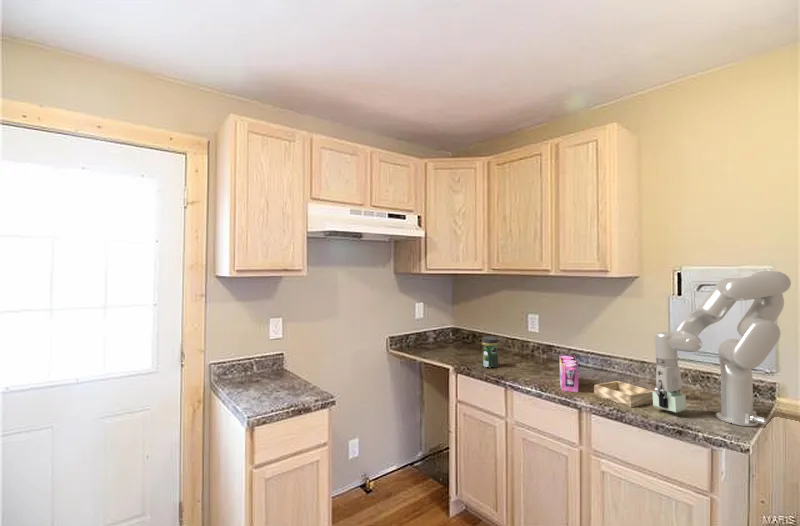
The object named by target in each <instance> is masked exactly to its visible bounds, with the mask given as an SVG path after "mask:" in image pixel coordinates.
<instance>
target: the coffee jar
mask: <svg viewBox="0 0 800 526" xmlns="http://www.w3.org/2000/svg"><path fill="white" fill-rule="evenodd" d="M481 345H482V357H481V359H482V360H481V363H482V364H481V367H483V366H484V367H483V368H485V367H495V368H499V356H498V355H499V354H498V346H499V339H498V337H497V336H492V335H491V336H490V335H489V336H483V337H482V338H481Z"/></svg>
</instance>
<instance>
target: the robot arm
mask: <svg viewBox="0 0 800 526" xmlns="http://www.w3.org/2000/svg"><path fill="white" fill-rule="evenodd" d="M791 284H792V282H791V279H790V277H789V275H787V274H785V273H783V272H780V271H776V270H775V271H773V270H771V271H770V270H766V271H764V270H763V271H757V272H754V273H752V274H751V275H750V276H745V277H738V278H731V277H730V278H729V277H727V278H723V279H721V280H720V281H718V282H717V283H716V285H715V286H714V287H713V288H712V289H711V291H710V292H709V293H708V295H706V297H705V299H704V300H702V303H701V304H700V305H699V306H698V307H697V308H695V310H693V312H692V313H690V314H689V316H687V317H686V318H685V319H683V320H682V322H681V324H680V325H679V326H678V328H677V329H676V330H675V332H670V331H659V332H656V333H655V334H654V348H655V365H656V369H655V370H656V371H655V386H654V387H655V388H654V391H656V393H657V395H658V397H659V406H660V407H663V408H668V399H667V398H666V396H667V392H676V393H680V391H681V390H682V389H683V387H682V386H683V385H682V377H681V376H682V375H681V370H680V367H679V360H678V352H679V351H680V352H685V353H696V352H698V351H700V350H701V348H702V347H703V341H702V340H701V338H700V337H699V335H700V334H701V333H702V332H703V331H704V330H705V329H706V328H708V327H709V326H711V325H714V324H716V323H718V322H721V320H723V319H724V318H725V316H726V315H727V314H728V313H729V311H730V310H731V308H732V307H733V306H734V305H735V303H736V302H741V301H742V302H743V301H747V300H748V301H749V300H753V302H752V304H751V306H750V307H749V309H748V310H747V312H746V313H745V314H744V316H743V317H742V318H741V319H740V321H739V322H738V324H737V326H736V332H737V333H738V334H739V336H741V337H740V339H737V338H729V339H725V340H723V341H722V342H721V343H720V345H719V346H718V349H717V350H718V351H717V353H718V360H719V366H720V368H719V369H720V411H719V412H716V414H715V417H716V418H717V419H719V420H720V421H722V422H725V423H728V424H731V423H732V425H735V426H743V427H757V426H759V424H761V425H766V424H767V419H766V418H765V417H762V416H758V415H757V411H755V410H754V398H753V397H754V394H753V391H754V389H753V387H754V386H753V385H754V384H753V383H754V382H753V381H754V380H753V371H752V369H756V368H757V367H759V366H761V365H762V364H763V363H764V361H765V360H766V359H767V357H768V356H769V355H770V353H771V352H772V350H774V348H775V347H776V345H777V343H778V342H779V340H780V338H781V328H780V326H779V325H778V324H777V323H776V321H777V319H778V318H779V317H780V315H781V313H782V312H783V309H784V307H785V299H784V298H785V297H784V293H786V292H787V291H789V289H790V287H791ZM662 389H664V390H662ZM662 392H664V394H663V393H662Z"/></svg>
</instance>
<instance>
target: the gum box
mask: <svg viewBox="0 0 800 526" xmlns="http://www.w3.org/2000/svg"><path fill="white" fill-rule="evenodd" d="M558 357H559V358H558V359H559V383H560V391H563V392H572V393H579V362H578V361H577V359H576V356H575V355H574V354H559V356H558Z"/></svg>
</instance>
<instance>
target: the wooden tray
mask: <svg viewBox="0 0 800 526" xmlns="http://www.w3.org/2000/svg"><path fill="white" fill-rule="evenodd" d="M654 391H655V390H652V389H648V388H644V387H640V386H637V385H634V384H630V383H627V382H622V381H619V380H615V381H609V382H608V381H607V382H603V383H597V384H594V386H593V395H596V396H595V397H597V396H599V397H598V398H600V397H602V398H601V399H603V398H605V399H604V400H606V399H608V400H607V401H609V400H611V401H610V402H612V401H614V402H613V403H615V402H616V404H618V403H619V404H618V405H621V404H622V405H623V406H624V405H625V407H628V408H635V406H636V407H639V405H640V406H645V405H649V403H650V404H653V394H652V392H654ZM644 404H645V405H644Z"/></svg>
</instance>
